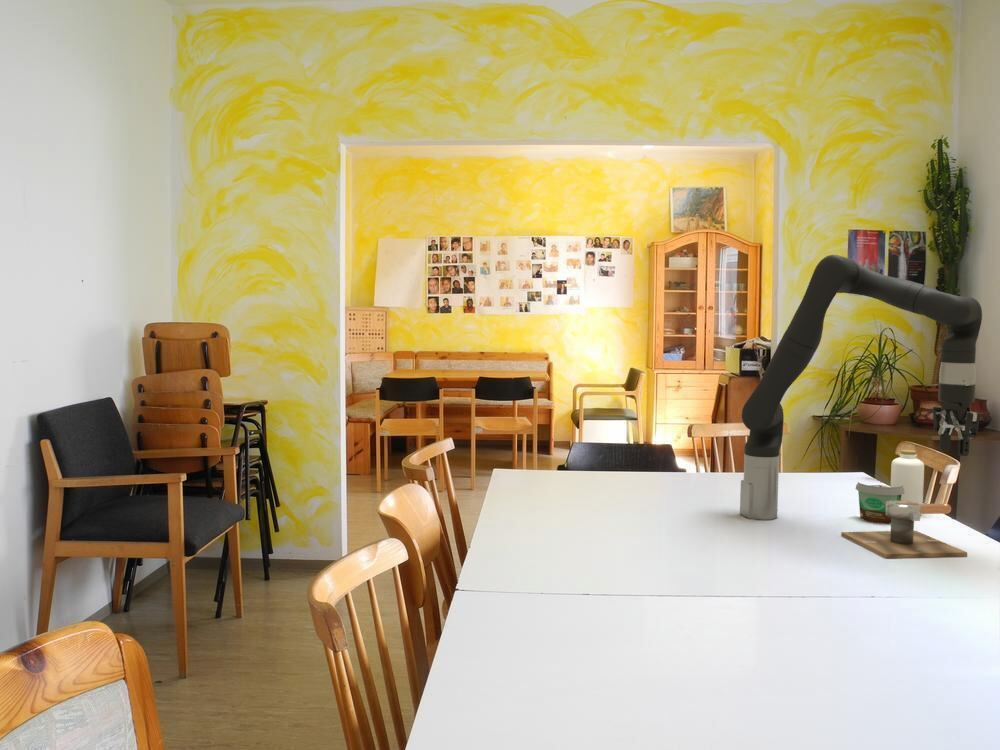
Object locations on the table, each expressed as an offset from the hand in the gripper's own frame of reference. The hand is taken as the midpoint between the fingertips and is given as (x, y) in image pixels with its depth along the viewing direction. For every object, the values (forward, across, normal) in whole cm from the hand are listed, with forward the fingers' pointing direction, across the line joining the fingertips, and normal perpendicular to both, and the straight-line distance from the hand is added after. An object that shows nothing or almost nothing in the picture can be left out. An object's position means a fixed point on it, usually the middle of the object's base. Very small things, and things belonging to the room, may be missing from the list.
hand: (953, 453), depth 197 cm
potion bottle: (+24, -38, +13) cm, 47 cm away
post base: (+24, -6, -8) cm, 26 cm away
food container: (+24, -30, 0) cm, 38 cm away
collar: (+16, -6, -4) cm, 18 cm away
